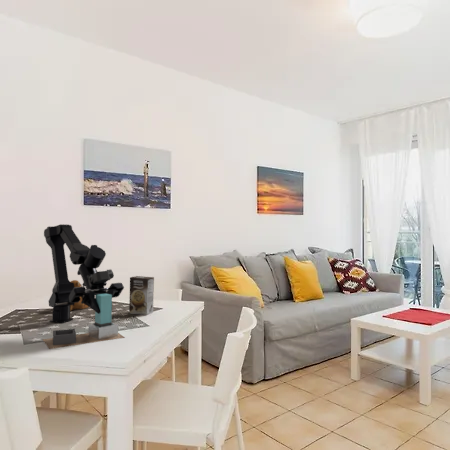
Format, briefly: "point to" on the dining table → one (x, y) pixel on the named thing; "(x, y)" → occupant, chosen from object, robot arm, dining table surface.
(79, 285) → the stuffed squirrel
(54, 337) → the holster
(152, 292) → the coffee box
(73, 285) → the robot arm
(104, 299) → the plug
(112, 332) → the port
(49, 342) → the panel board
